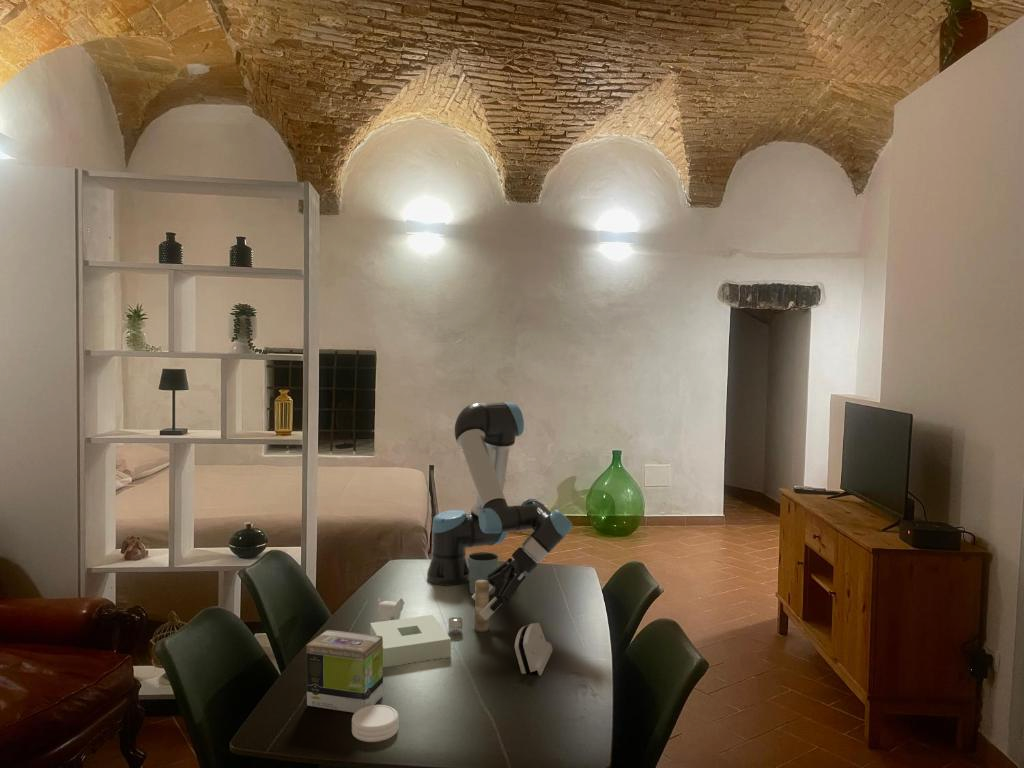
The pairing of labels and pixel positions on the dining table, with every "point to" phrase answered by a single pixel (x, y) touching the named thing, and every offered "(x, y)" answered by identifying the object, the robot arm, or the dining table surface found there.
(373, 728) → the coaster
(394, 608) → the elephant figurine
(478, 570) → the grey blue cup
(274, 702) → the dining table surface
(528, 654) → the magnetic window cleaner
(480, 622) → the maple pin
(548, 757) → the dining table surface
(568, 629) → the dining table surface
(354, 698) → the tea box
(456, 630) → the steel stub
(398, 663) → the sage block
